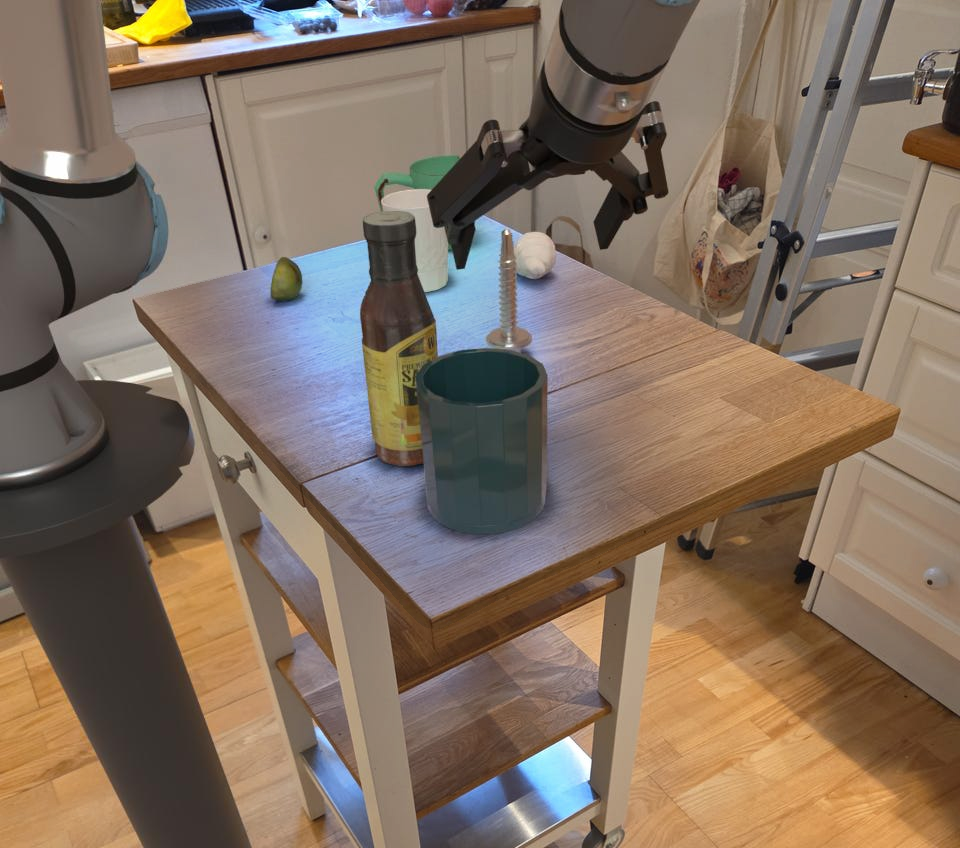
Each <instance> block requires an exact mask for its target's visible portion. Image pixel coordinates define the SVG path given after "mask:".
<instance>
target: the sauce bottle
mask: <svg viewBox="0 0 960 848" xmlns="http://www.w3.org/2000/svg"><path fill="white" fill-rule="evenodd" d="M362 230H363V237H364V240H365V241H366V244H367V253H368V256H367V257H368V263H369V264H368V265H369V269H368V275H369V278H370V282H369V284H368V286H367V289H366V290H365V293H364V294H365V295H364V296H363V298H362V300H361V304H360V309H359V319H360V328H361V334H362V335H361V336H362V338H361V347H362V356H363V365H364V374H365V383H366V391H367V399H368V400H367V401H368V402H367V403H368V411H369V419H370V428H371V437H372V440H373V441H374V447H375V453H376V456H377V457H378V458H379V460H380V461H381V462H384V463H386V464H388V465H392V466H397V467H412V466H418V465H421V464H423V455H422V445H421V435H420V424H419V414H418V403H417V393H416V382H415V376H416V374H417V373H418V372H419V370H420V369H421V367H422V366H423V365H424V364H426V363H428V362H430V361H431V360H433V359H435V358H437V357H438V356H439V354H438V352H439V351H438V333H437V320H436V318H435V316H434V313H433V311H432V307H431V306H430V303H429V301H428V298H427V295H426V292H424V290H423V287H422V285H421V282H420V279H419V277H418V268H417V265H416V253H415V237H416V223H415V217H414V216H413V215H412V214H410V213H408V212H404V211H384V212H381V211H378V212H373V213H370V214H367V215H365V216H364V217H363V218H362Z"/></svg>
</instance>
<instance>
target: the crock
mask: <svg viewBox="0 0 960 848" xmlns="http://www.w3.org/2000/svg"><path fill="white" fill-rule="evenodd" d="M548 378H549V377H548V372H547V370H546V368H545V365H544V364H543V363H542V362H540V361H539V360H538V359H536V358H534V357H533V356H532V355H529V354H526V353H523V352H521V353H520V352H516V351H513V350H507V349H495V348H492V347H480V348H479V347H478V348H470V349H461V350H460V349H459V350H457V351H453V352H448V353H445V354H441V355H438V357H437V358H435V359H433V360H431V361H430V362H428V363H426V364H424V365H423V366H422V367H421V369H420V370H419V372H418V373H417V374H416V376H415V382H416V393H417V403H418V414H419V424H420V435H421V445H422V455H423V463H422V464H423V474H424V476H423V477H424V485H425V486H424V487H425V494H426V504H427V510H428V511H429V514H430V515H431V516H432V518H433V519H434V520H435V521H436V522H438V523H439V524H440V525H442V526H444V527H446V528H448V529H451V530H453V531H457V532H461V533H465V534H472V535H473V534H474V535H494V534H495V535H496V534H501V533H506V532H510V531H514V530H516V529H519V528H523V527H524V526H526V525H528V524H530V523H531V522H532V521H534V520H535V519H536V518H537V517H539V515H540V514H541V513H542V511H543V509H544V508H545V504H546V495H547V484H548V483H547V478H548V475H547V473H548V471H547V469H548V468H547V467H548V466H547V465H548V386H549V384H548V383H549V382H548V381H549V380H548Z"/></svg>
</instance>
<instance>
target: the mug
mask: <svg viewBox="0 0 960 848" xmlns="http://www.w3.org/2000/svg"><path fill="white" fill-rule="evenodd" d="M460 158H461V157H460V156H459V155H457V154H453V155H452V154H451V155H448V154H447V155H437V156H430V157H426V158H422V159H419V160H415V161H413V162H412V163H411V164H410V166H409V168H408V170H409V174H406V173H401V172H400V173H399V172H385V173H382V174H381V175H380V176H379V179H378V180H377V181H376V182H375V184H374V186H373V188H374V191H375V195H376V198H377V202H378V206H379V210H380V212H383V211H382V205H381V200H382V198H383V197H385V194H384V193H385V192H384V190H385V187H386V186H391V185H399V186H403V187H408V188H412V189H429V190H432V189H433V188H434V187H435V186H436V185H437V183H438V182H439V181H440V180H441V179H442V178H443V177H444V176H445V175H446V174H447V173H448V171H449V170H450V169H451V168H452V167H453V166H454V165H455V164H456V163H457V162H458V160H459V159H460ZM475 223H476V221H474V224H475ZM448 251H452V247H451V245H449V243H448Z"/></svg>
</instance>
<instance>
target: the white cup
mask: <svg viewBox="0 0 960 848" xmlns="http://www.w3.org/2000/svg"><path fill="white" fill-rule="evenodd" d="M430 191H431V190H429V189H414V188H412V189H404V190H399V191H395V192H391V193H389V194H386V195H384V197H383V198H382V200H381V205H382V211H383V212H384V211H404V212H408V213H410V214H412V215H413V216H414V217H415V223H416V237H415V253H416V265H417V268H418V277H419V279H420V282H421V285H422V287H423V290H424V292H425V293H429V292H434V291H438V290H441V289H442V288H444V287H445V286H447V284H448V281H449V268H448V267H449V266H448V260H449V250H448V241H447V237H446V232H445V228H444V227H441V228H436V227H434V226H433V222H432V218H431V213H430V209H429V204H428V200H427V195H428V193H429V192H430Z"/></svg>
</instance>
